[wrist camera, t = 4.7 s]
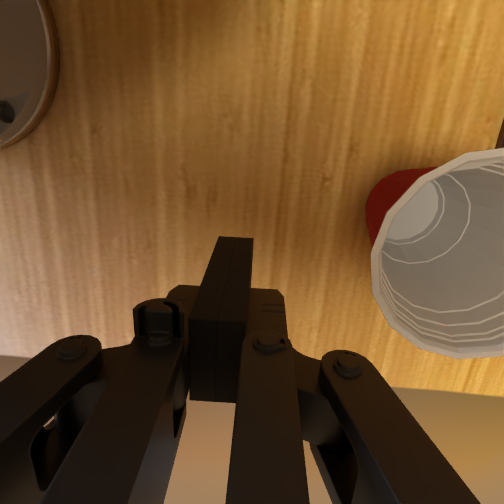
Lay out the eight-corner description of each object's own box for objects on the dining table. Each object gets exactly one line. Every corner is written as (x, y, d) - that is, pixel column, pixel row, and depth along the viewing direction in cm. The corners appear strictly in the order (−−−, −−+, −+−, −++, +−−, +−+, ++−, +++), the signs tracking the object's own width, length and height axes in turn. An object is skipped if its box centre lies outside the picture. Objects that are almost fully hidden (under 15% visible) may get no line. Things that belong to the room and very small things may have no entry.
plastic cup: (423, 98, 25) (550, 88, 14) (498, 210, 28) (654, 277, 17) (302, 198, 28) (327, 256, 17) (381, 291, 31) (447, 393, 20)
